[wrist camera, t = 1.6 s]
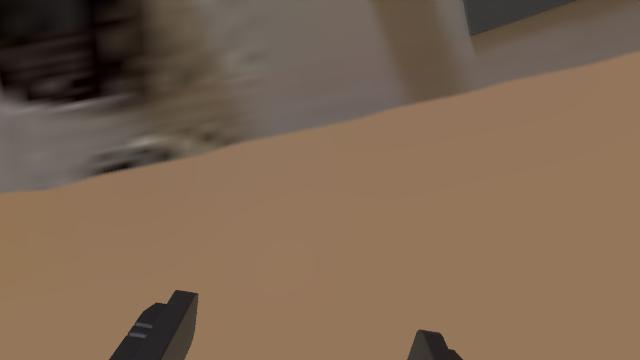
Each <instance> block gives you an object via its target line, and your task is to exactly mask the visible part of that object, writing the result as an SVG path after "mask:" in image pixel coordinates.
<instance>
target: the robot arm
mask: <svg viewBox="0 0 640 360" xmlns="http://www.w3.org/2000/svg"><path fill="white" fill-rule="evenodd" d="M197 304H198V293H193V292H186V291H180V290H176V291H175V292H174V293H173V295H172V297H171V298H170V300H169V301H168V303H167V304H162V303H155V304H154V305H152V306H151V307H149V308H148V309H146V310H145V311H143V313H142V314H141V315H140V317H139V318H138V320H137V321H136V323H135V325H134V326H133V327H132V328H131V330H130V331H129V332H128V335H127V336H126V337H125V338H124V339H123V341H122V342H121V344H120V345H119V347H118V348H117V349H116V351H115V352H114V354H113V355H112V356H111V358H110V359H109V360H184V359H185V357H186V354H187V353H188V350H189V348H190V346H191V342H192V340H193V336H194V331H195V324H196V314H197ZM407 360H463V359H462V358H461V357H460V356H459V355H458V354H457V353H456V352H455V351H454V350H451V349H448V347H447V345H446V343H445V341H444V338H443V336H442V335H441V334H440V333H438V332H432V331H426V330H418V331H417V333H416V336H415V339H414V342H413V345H412V347H411V351H410V354H409V356H408V359H407Z"/></svg>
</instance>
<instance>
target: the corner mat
mask: <svg viewBox="0 0 640 360" xmlns="http://www.w3.org/2000/svg"><path fill="white" fill-rule="evenodd" d="M463 1H464V6H465V11H466V17H467V22H468V27H469V33H470V36H472V35H475V34H478V33H481V32H484V31H487V30H490V29H493V28H496V27H499V26H502V25H505V24H508V23H511V22H514V21H517V20H520V19H523V18H525V17H528V16H531V15H534V14H537V13H540V12H543V11H546V10H549V9H552V8H555V7H558V6H561V5H564V4H567V3H570V2H573V1H576V0H463Z"/></svg>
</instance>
